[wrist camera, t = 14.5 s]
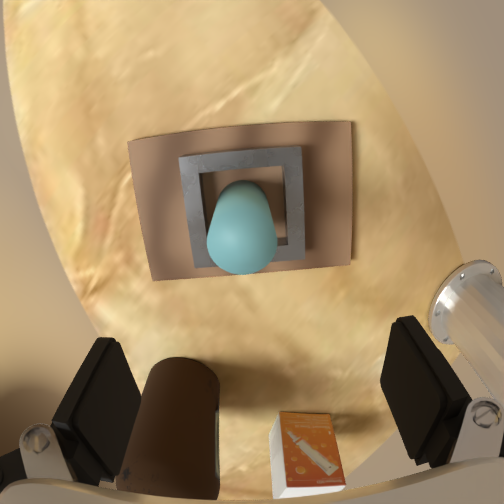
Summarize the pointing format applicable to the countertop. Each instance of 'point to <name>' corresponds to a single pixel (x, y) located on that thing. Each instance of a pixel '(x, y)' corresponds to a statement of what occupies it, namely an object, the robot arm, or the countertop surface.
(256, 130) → the collar board
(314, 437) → the small box
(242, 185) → the teal peg
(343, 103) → the countertop surface
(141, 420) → the olive oil
